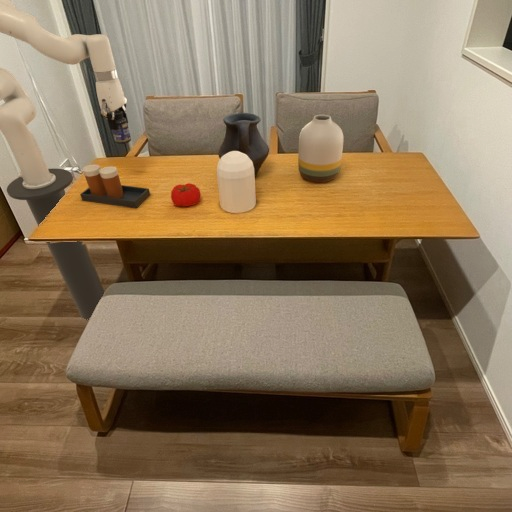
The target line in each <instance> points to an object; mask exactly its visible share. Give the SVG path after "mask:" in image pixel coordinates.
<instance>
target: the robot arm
mask: <svg viewBox="0 0 512 512" xmlns="http://www.w3.org/2000/svg"><path fill="white" fill-rule="evenodd" d="M0 33H1V34H3V35H6V36H8V37H9V36H10V37H11V38H14V39H16V40H19V41H21V42H24V43H26V44H29V45H30V46H31V47H32V48H33V49H35V50H36V51H37V52H39V53H40V54H42V55H44V56H46V57H47V58H50V59H52V60H55V61H58V62H60V63H63V64H66V65H71V66H72V65H78V64H79V63H81V62H82V61H84V60H86V59H88V58H89V60H90V63H91V67H92V70H93V74H94V78H95V81H96V82H95V90H96V91H95V92H96V95H97V100H98V106H99V108H100V114H101V115H102V116H103V117H104V118H105V120H107V122H108V126H109V129H110V130H111V131H112V130H118V125H117V121H116V119H114V111H122V112H123V117H124V118H126V120H127V124H129V119H128V116H127V101H128V99H127V97H126V96H125V93H124V89H123V86H122V83H121V80H120V79H119V74H118V70H117V68H116V62H115V58H114V54H113V51H112V46H111V42H110V39H109V37H108V36H107V35H106V34H103V33H99V34H91V35H88V34H80V33H75V34H71V35H69V36H66V37H62V36H59V35H57V34H55V33H52V32H50V31H48V30H46V29H45V28H43V27H42V26H41V25H40V24H39V21H38V19H37V17H35V16H34V15H32V14H30V13H27V12H25V11H22V10H20V9H17V7H16V5H15V4H14V3H13V2H12V1H11V0H0ZM2 100H3V102H4V103H3V104H1V105H0V132H1V133H2V135H3V136H4V138H5V140H6V142H7V144H8V147H9V149H10V151H11V152H12V154H13V156H14V159H15V161H16V163H17V166H18V168H19V173H18V174H17V176H18V178H19V177H23V179H24V181H23V186H24V188H27V189H39V188H43V187H46V186H49V185H51V184H52V183H54V182H55V180H56V177H55V175H54V174H51V173H49V170H48V169H49V167H48V166H47V163H46V159H45V158H44V155H43V153H42V150H41V148H40V145H39V143H38V141H37V139H36V137H35V135H34V133H33V132H32V131H31V129H29V127H28V125H29V124H30V123H31V122H32V121H33V120H34V119H36V115H37V108H36V106H35V104H34V102H33V101H32V100H31V98H30V96H29V95H28V93H27V92H26V91H25V89H24V88H23V86H22V84H21V83H20V81H19V80H18V79H17V78H16V77H15V76H14V74H12V72H10V71H9V70H7V69H5V68H2V67H0V101H2ZM110 112H111V115H110Z"/></svg>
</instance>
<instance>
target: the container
mask: <svg viewBox="0 0 512 512" xmlns="http://www.w3.org/2000/svg"><path fill="white" fill-rule="evenodd" d="M255 176H256V175H254V166H253V162H252V161H251V159H250V158H249V157H248V156H247V155H246V154H244V153H241V152H239V151H231V152H228V153H226V154H225V155H223V156H222V157H221V158H219V160H218V162H217V165H216V179H217V188H218V196H219V197H218V198H219V205H220V207H221V209H222V210H223V211H225V212H227V213H232V214H241V213H245V212H249V211H251V210H253V209H254V208H255V207H256V205H257V197H256V179H255V178H256V177H255Z"/></svg>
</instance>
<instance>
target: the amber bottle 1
mask: <svg viewBox="0 0 512 512" xmlns="http://www.w3.org/2000/svg"><path fill="white" fill-rule="evenodd" d="M101 169H102V168H101V166H100V165H99V164H97V163H96V164H95V163H94V164H88V165H85V166H83V167H82V172H83V175H84V177H85V180H86V183H87V186H88V188H89V189H90V192H91V195H96V196H105V195H106V194H107V193H106V190H105V186H104V183H103V180H102V177H101V175H100V170H101Z"/></svg>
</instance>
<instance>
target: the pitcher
mask: <svg viewBox="0 0 512 512" xmlns="http://www.w3.org/2000/svg"><path fill="white" fill-rule="evenodd" d="M222 120H223V123H224V125H225V135H224V138H223V141H222V143H221V145H220V146H219V148H218V158H219V159H220V158H221V157H222V156H223V155H225V154H226V153H228V152H231V151H239V152H241V153H244V154H246V155H247V156H248V157H249V158H250V159H251V161H252V162H253V166H254V175H255V176H257V174H258V172H259V171H260V169H261V167H262V166H263V164H264V163H265V161H266V159H267V158H268V156H269V154H270V147H269V145H268V143H267V142H266V140H265V139H264V138H263V137H262V135H261V133H260V131H259V128H258V124H259V123H260V122H261V121H262V120H261V116H259V115H256V114H254V113H250V112H238V113H237V112H236V113H233V114H229V115H227V116H224V118H223V119H222Z"/></svg>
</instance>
